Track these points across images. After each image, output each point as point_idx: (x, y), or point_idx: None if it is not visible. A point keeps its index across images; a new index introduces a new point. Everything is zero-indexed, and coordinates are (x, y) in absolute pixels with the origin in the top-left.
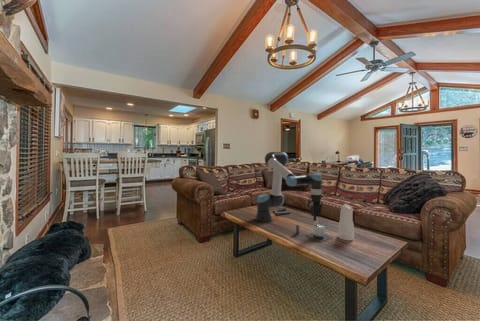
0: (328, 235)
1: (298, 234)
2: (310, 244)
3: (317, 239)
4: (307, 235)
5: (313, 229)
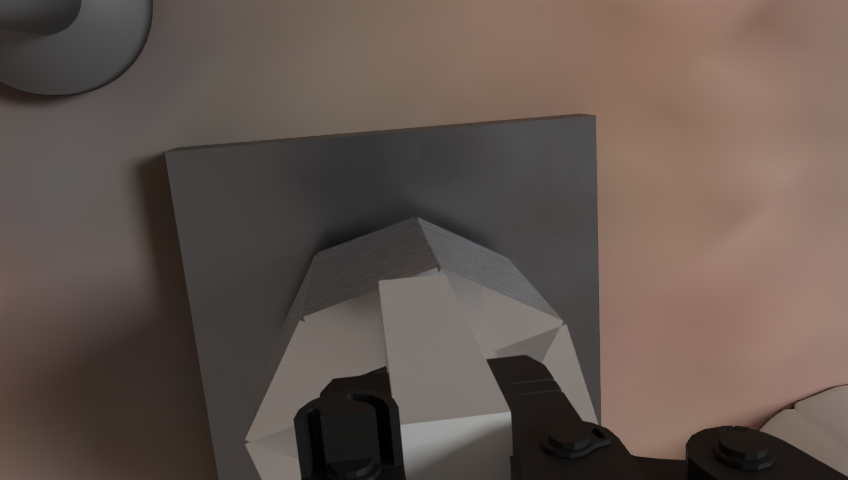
0: (596, 393)
1: (37, 33)
2: (33, 468)
3: (244, 447)
4: (189, 204)
5: (288, 326)
